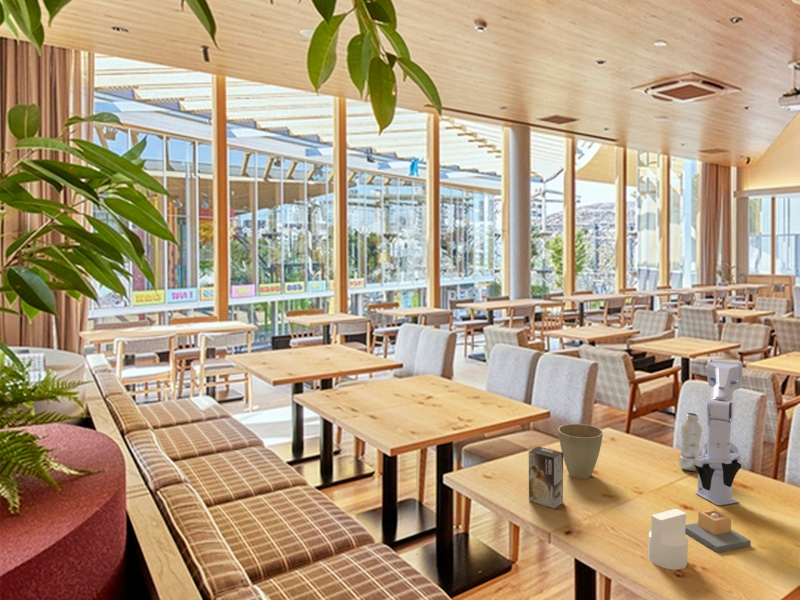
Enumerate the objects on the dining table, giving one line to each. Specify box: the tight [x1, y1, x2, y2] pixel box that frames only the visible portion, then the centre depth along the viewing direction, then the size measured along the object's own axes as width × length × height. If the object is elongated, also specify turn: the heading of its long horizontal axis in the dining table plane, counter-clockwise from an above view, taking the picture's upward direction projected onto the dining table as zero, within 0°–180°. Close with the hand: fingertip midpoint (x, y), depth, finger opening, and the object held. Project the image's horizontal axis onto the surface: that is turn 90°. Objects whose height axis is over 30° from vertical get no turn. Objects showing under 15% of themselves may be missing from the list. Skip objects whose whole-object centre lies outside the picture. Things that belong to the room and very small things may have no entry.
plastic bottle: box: [678, 412, 703, 472], centre depth 203 cm, size 6×7×20 cm
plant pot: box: [557, 423, 604, 480], centre depth 200 cm, size 15×15×16 cm
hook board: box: [685, 513, 752, 553], centre depth 156 cm, size 12×11×6 cm
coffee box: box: [528, 446, 564, 509], centre depth 179 cm, size 9×6×16 cm
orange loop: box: [697, 508, 732, 535], centre depth 158 cm, size 6×6×4 cm
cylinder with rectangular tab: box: [647, 508, 689, 571], centre depth 145 cm, size 9×9×12 cm
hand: (716, 487), depth 166 cm, fingers open, 7 cm apart
